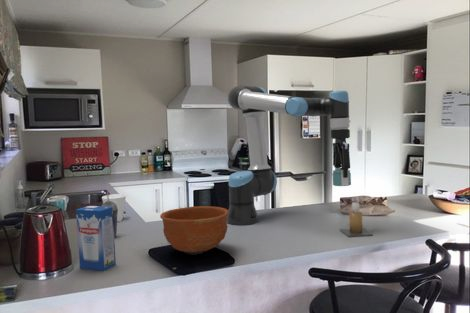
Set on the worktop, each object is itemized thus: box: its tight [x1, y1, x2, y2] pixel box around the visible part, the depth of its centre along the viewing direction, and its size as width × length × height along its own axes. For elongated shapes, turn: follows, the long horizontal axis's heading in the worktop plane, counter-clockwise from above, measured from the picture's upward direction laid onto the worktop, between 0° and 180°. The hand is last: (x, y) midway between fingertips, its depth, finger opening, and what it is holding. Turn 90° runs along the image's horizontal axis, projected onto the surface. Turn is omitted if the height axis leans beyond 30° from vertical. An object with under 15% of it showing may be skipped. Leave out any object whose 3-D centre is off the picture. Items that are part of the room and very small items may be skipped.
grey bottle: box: [101, 190, 118, 239], centre depth 170 cm, size 7×7×20 cm
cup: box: [101, 193, 127, 223], centre depth 202 cm, size 12×12×12 cm
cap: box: [331, 169, 352, 187], centre depth 166 cm, size 7×7×6 cm
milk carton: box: [75, 205, 117, 272], centre depth 135 cm, size 10×6×20 cm, turn 69°
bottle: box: [339, 201, 374, 238], centre depth 164 cm, size 10×10×13 cm
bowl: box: [159, 205, 229, 253], centre depth 146 cm, size 25×25×15 cm
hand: (341, 184), depth 166 cm, fingers closed on cap, 7 cm apart
